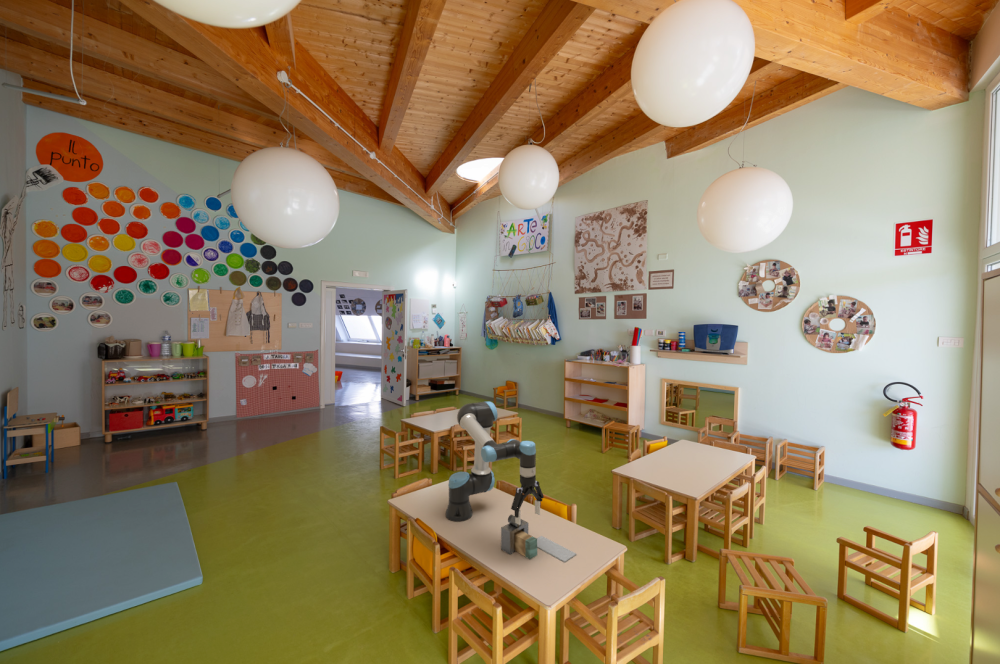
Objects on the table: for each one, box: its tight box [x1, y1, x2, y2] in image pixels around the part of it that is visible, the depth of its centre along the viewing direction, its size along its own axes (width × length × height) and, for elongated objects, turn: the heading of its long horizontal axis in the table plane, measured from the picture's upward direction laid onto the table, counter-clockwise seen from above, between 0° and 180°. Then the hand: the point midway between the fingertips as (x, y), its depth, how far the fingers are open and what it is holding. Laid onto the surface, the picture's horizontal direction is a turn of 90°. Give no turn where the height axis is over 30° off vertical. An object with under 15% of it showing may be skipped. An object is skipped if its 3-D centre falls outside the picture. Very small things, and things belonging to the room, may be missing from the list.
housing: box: [500, 514, 529, 555], centre depth 204 cm, size 6×13×15 cm, turn 133°
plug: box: [514, 530, 538, 560], centre depth 202 cm, size 18×5×8 cm, turn 44°
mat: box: [536, 535, 578, 563], centre depth 202 cm, size 22×9×1 cm, turn 43°
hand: (527, 518), depth 197 cm, fingers open, 13 cm apart
